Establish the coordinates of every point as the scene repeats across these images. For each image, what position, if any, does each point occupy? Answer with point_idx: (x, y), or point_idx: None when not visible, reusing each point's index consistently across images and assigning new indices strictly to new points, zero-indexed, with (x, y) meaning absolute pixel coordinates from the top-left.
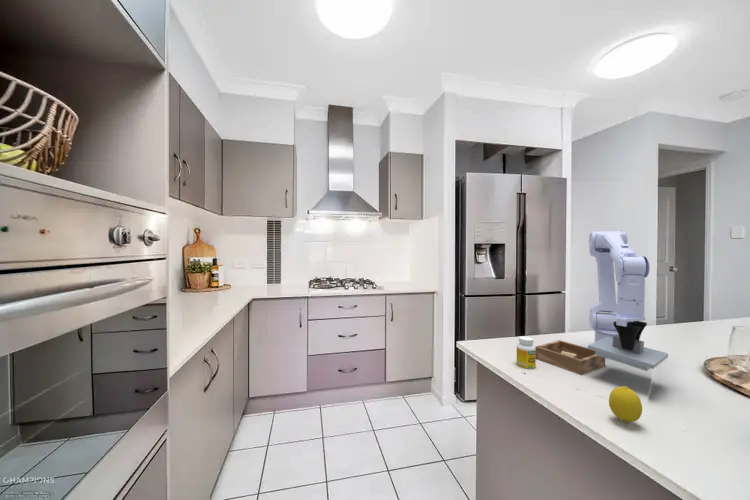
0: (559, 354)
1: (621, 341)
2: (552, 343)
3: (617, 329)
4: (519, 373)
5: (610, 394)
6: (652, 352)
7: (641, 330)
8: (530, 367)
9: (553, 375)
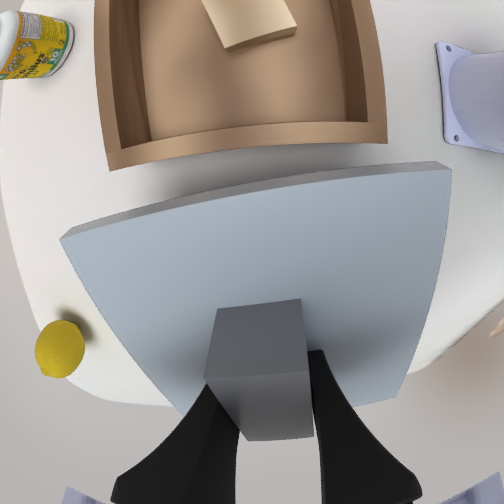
0: (96, 63)
1: (202, 394)
2: None
3: (147, 463)
4: (19, 85)
5: (37, 340)
6: (351, 389)
7: (321, 488)
8: (32, 77)
9: (80, 109)
